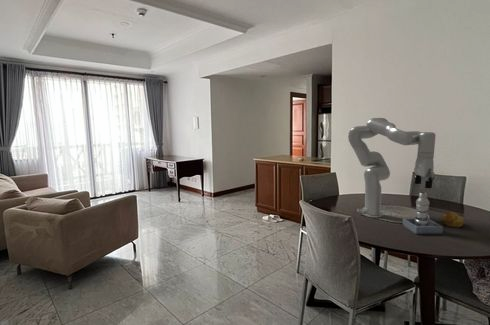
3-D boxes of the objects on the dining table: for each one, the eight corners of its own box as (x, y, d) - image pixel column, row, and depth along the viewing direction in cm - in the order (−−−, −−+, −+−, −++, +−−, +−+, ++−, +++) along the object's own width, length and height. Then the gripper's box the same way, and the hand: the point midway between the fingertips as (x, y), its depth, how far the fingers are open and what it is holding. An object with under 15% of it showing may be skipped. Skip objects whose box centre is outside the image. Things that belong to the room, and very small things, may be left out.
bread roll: (440, 220, 173) (441, 207, 172) (459, 222, 169) (460, 209, 168) (444, 227, 162) (445, 213, 161) (465, 229, 158) (466, 215, 157)
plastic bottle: (422, 225, 163) (424, 191, 160) (430, 229, 156) (432, 194, 154) (411, 225, 163) (413, 191, 160) (419, 230, 156) (421, 194, 154)
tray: (416, 234, 153) (416, 227, 152) (402, 225, 166) (402, 218, 166) (442, 233, 152) (443, 226, 152) (426, 224, 166) (427, 218, 166)
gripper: (409, 153, 163) (407, 182, 165) (428, 157, 146) (425, 189, 148) (423, 153, 162) (420, 182, 165) (443, 157, 145) (440, 189, 148)
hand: (422, 185), depth 157 cm, fingers open, 9 cm apart
